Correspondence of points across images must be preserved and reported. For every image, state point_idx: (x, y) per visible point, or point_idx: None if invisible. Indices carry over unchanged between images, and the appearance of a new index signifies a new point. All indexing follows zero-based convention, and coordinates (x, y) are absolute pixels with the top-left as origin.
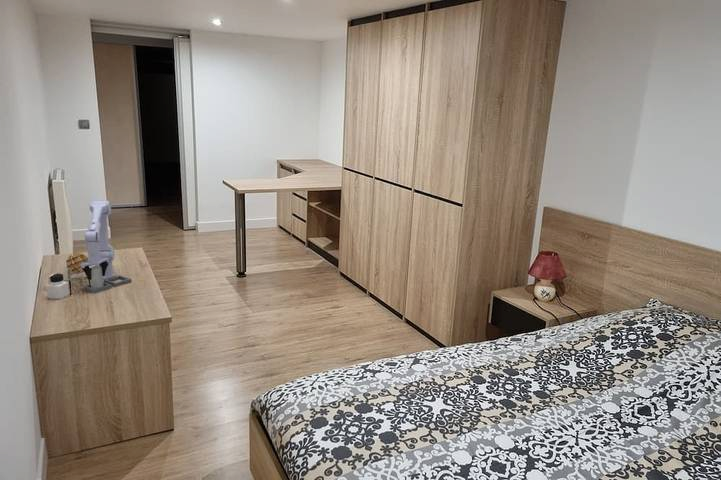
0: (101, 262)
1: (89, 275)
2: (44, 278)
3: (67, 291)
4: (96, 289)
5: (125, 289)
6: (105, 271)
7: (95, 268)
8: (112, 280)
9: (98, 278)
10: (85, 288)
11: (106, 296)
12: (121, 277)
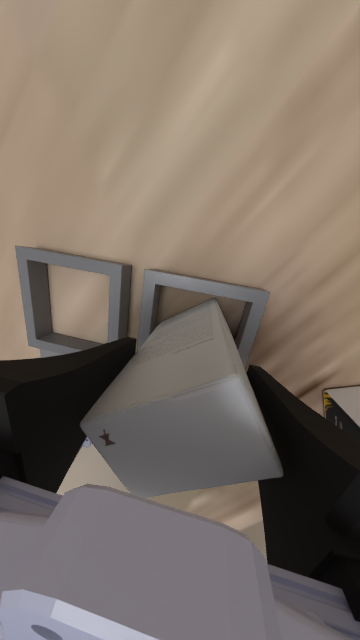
0: (7, 499)
1: (289, 392)
2: None
3: (356, 404)
4: (250, 288)
5: (126, 167)
6: (99, 346)
7: (198, 434)
8: (84, 343)
9: (214, 320)
10: None
11: (285, 164)
12: (38, 323)
